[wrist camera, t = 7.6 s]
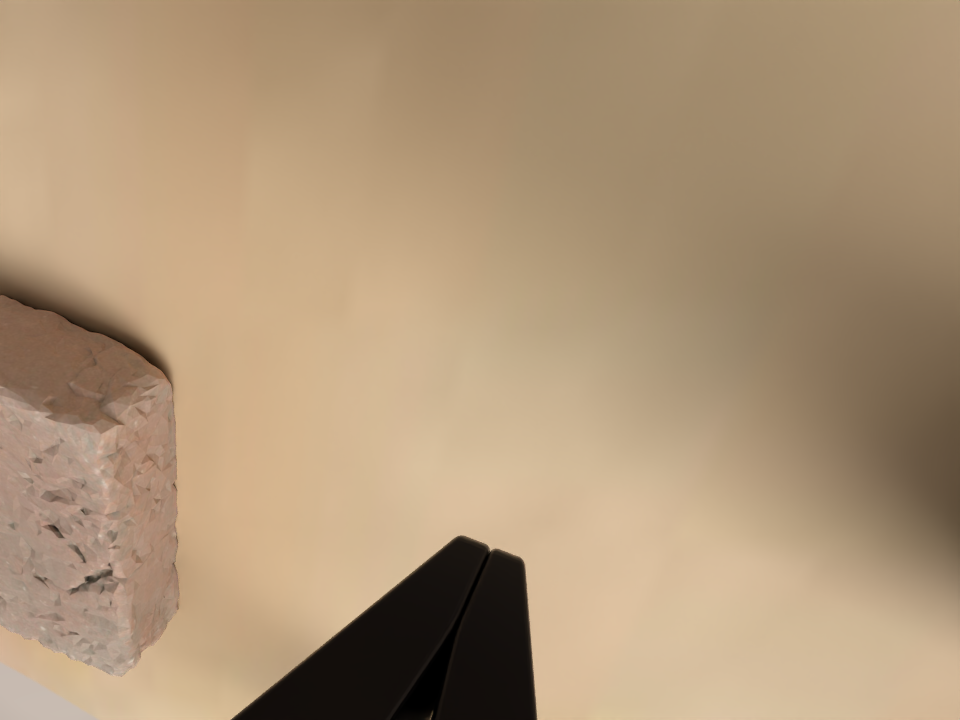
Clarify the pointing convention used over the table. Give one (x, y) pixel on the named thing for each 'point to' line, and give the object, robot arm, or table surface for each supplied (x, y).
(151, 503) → the brick
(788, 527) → the table surface
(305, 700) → the robot arm
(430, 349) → the table surface
